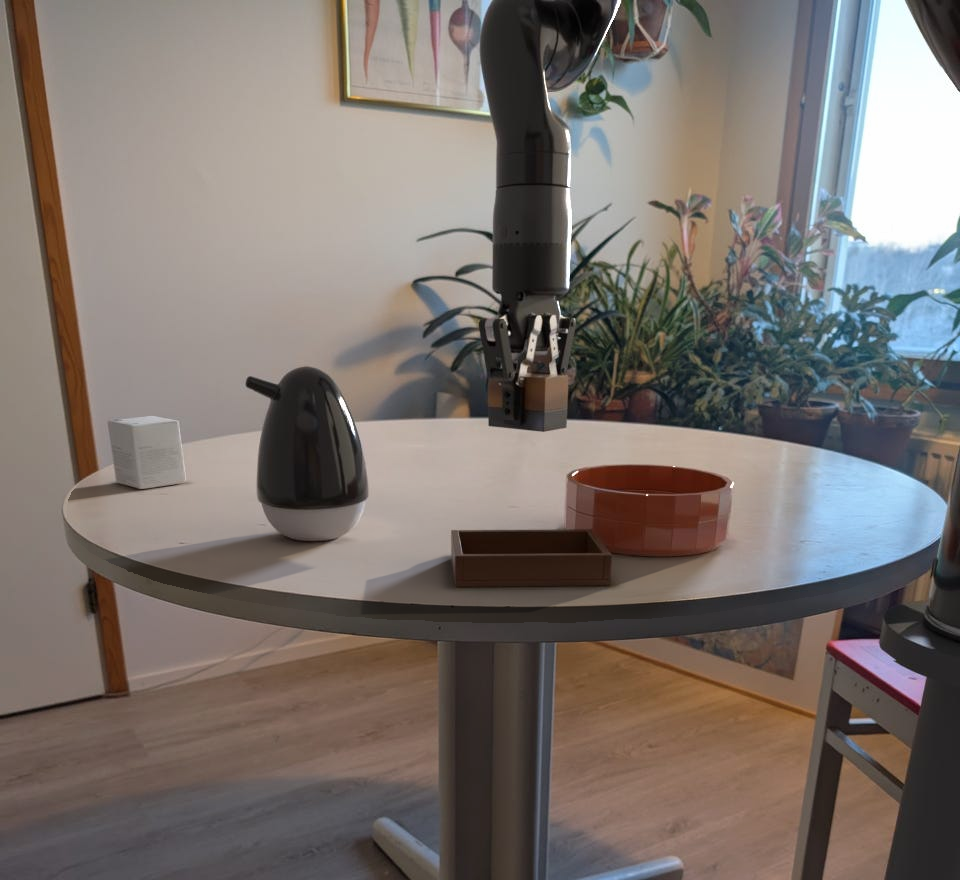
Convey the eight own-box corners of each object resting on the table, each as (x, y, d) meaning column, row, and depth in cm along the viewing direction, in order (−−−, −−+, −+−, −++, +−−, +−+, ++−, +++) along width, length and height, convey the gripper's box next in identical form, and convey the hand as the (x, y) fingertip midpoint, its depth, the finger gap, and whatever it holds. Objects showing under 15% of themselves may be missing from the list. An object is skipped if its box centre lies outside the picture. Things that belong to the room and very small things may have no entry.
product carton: (187, 483, 106) (180, 419, 103) (138, 490, 101) (130, 424, 99) (162, 476, 109) (154, 415, 107) (114, 482, 105) (105, 419, 103)
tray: (590, 557, 77) (592, 529, 77) (610, 585, 70) (612, 554, 69) (451, 558, 77) (451, 529, 76) (455, 587, 69) (455, 556, 68)
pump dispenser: (255, 524, 87) (242, 362, 81) (362, 519, 89) (356, 361, 84) (259, 552, 78) (245, 371, 72) (378, 545, 80) (372, 370, 75)
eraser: (566, 427, 91) (568, 375, 90) (543, 432, 88) (545, 377, 86) (511, 422, 95) (512, 372, 94) (488, 426, 92) (488, 374, 90)
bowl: (752, 533, 86) (759, 477, 84) (681, 568, 75) (687, 503, 73) (614, 510, 95) (618, 458, 93) (533, 538, 83) (534, 479, 81)
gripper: (520, 235, 78) (516, 433, 84) (603, 244, 89) (594, 419, 95) (454, 238, 83) (455, 426, 89) (541, 246, 93) (536, 414, 99)
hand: (527, 421), depth 92 cm, fingers closed on eraser, 4 cm apart
